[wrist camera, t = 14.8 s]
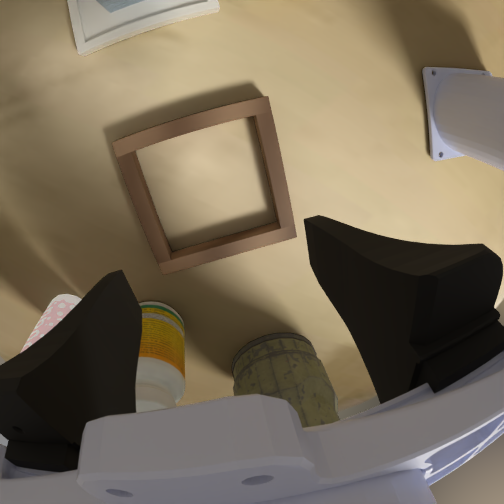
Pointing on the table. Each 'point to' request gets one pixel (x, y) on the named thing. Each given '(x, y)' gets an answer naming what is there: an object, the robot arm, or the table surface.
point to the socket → (227, 244)
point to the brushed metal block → (116, 4)
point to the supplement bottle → (160, 358)
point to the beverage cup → (52, 316)
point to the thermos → (287, 376)
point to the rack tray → (128, 20)
